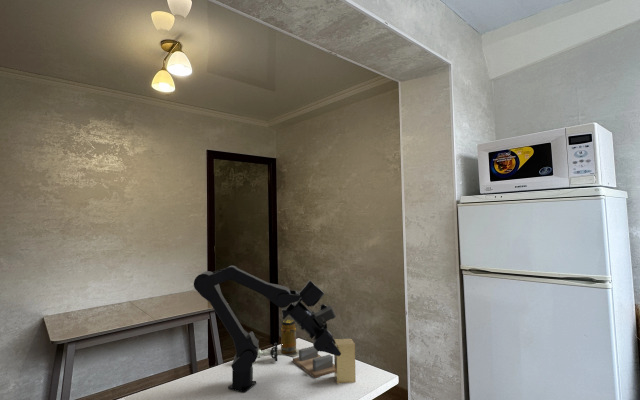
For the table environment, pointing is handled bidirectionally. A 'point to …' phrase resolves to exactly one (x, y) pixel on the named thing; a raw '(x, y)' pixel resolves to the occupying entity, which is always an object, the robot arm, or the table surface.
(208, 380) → the table surface
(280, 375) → the table surface
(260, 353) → the valve
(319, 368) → the vise
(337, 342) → the brass block
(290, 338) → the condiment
